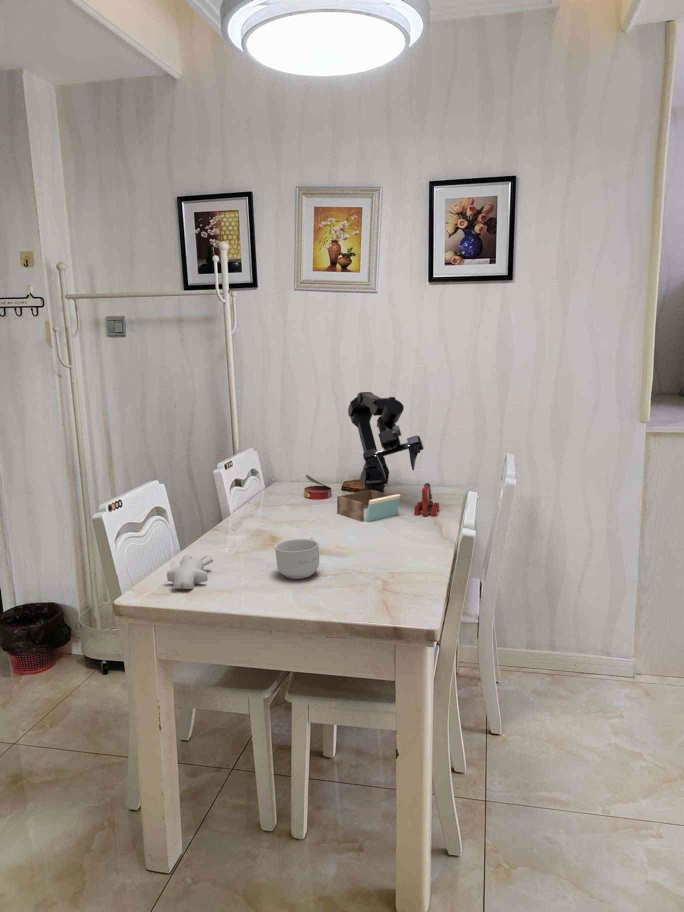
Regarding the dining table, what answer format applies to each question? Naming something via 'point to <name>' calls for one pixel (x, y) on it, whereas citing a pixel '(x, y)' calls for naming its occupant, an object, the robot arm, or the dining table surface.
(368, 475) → the robot arm
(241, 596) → the dining table surface
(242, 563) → the dining table surface
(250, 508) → the dining table surface
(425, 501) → the toy fire truck
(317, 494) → the canned food
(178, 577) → the bunny figurine
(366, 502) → the crate
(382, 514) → the teal flat slab
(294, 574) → the teacup
